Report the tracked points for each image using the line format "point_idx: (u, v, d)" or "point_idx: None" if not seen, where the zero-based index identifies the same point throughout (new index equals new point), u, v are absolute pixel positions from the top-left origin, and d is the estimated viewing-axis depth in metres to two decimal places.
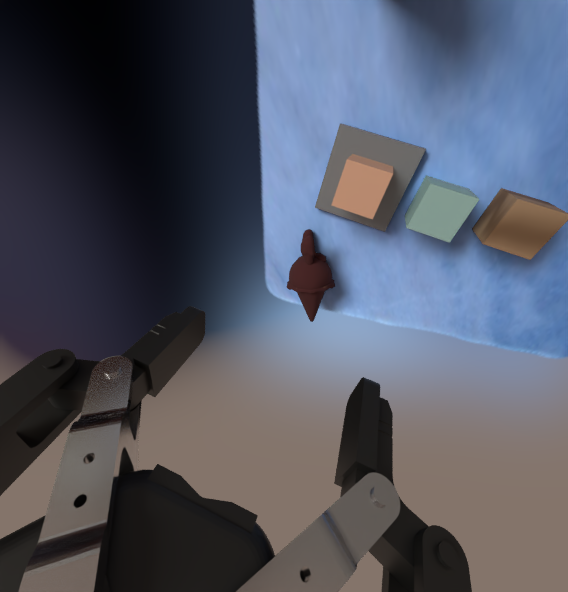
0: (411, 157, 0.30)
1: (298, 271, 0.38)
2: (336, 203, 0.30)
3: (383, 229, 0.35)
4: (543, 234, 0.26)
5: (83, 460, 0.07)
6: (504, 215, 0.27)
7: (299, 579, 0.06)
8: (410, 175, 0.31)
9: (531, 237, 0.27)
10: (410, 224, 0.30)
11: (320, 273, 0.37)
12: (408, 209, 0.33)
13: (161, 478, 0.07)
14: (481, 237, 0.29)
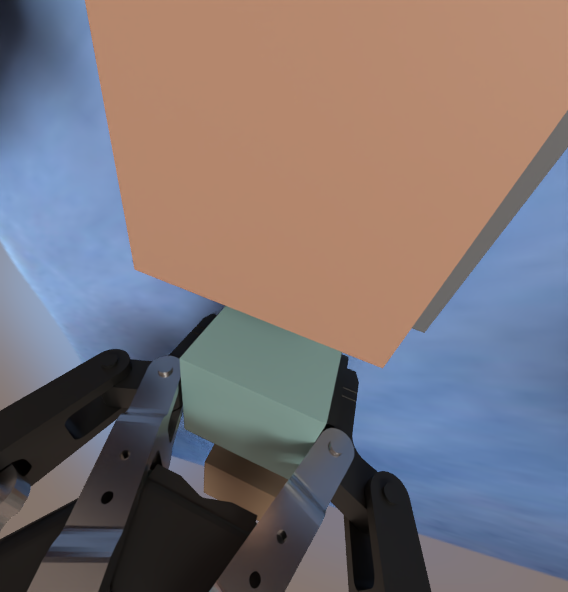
0: None
1: None
2: None
3: None
4: None
5: (120, 455, 0.07)
6: (263, 489, 0.13)
7: (277, 542, 0.06)
8: None
9: (235, 501, 0.15)
10: (193, 368, 0.08)
11: None
12: None
13: (161, 478, 0.07)
14: None
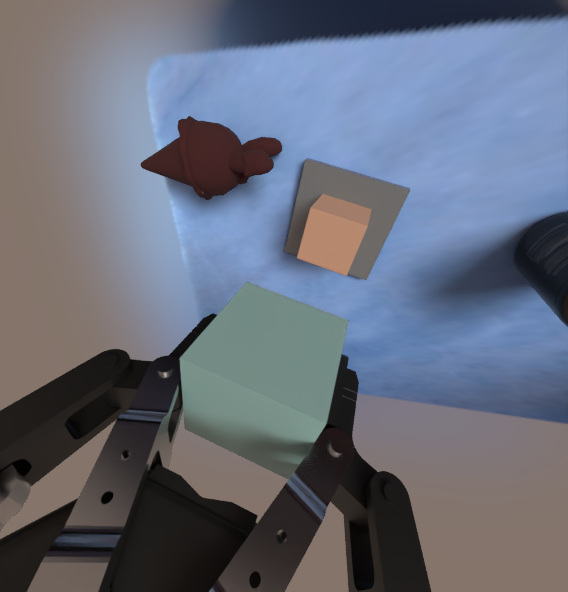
0: (360, 269, 0.29)
1: (213, 146, 0.23)
2: (313, 214, 0.22)
3: (286, 249, 0.31)
4: None
5: (120, 455, 0.07)
6: None
7: (278, 542, 0.06)
8: None
9: None
10: (193, 368, 0.08)
11: (220, 185, 0.25)
12: (260, 294, 0.12)
13: (161, 478, 0.07)
14: None
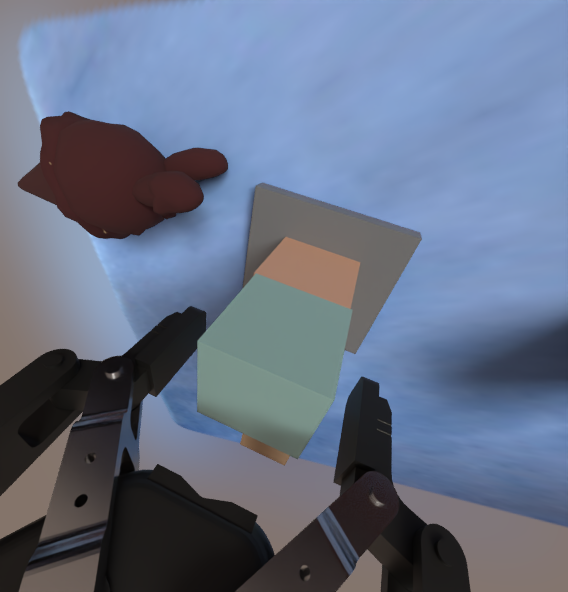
0: None
1: (100, 164, 0.13)
2: None
3: None
4: (265, 452, 0.26)
5: (84, 460, 0.07)
6: None
7: (299, 578, 0.06)
8: None
9: (260, 447, 0.26)
10: (210, 350, 0.09)
11: (126, 224, 0.15)
12: (269, 285, 0.12)
13: (161, 478, 0.07)
14: None
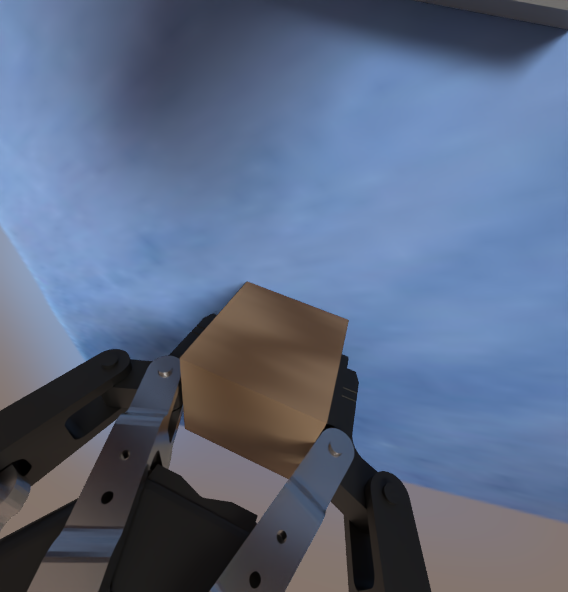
0: None
1: None
2: None
3: None
4: (242, 448, 0.11)
5: (120, 455, 0.07)
6: (272, 396, 0.08)
7: (278, 543, 0.06)
8: None
9: (229, 434, 0.10)
10: None
11: None
12: None
13: (161, 478, 0.07)
14: (207, 338, 0.09)
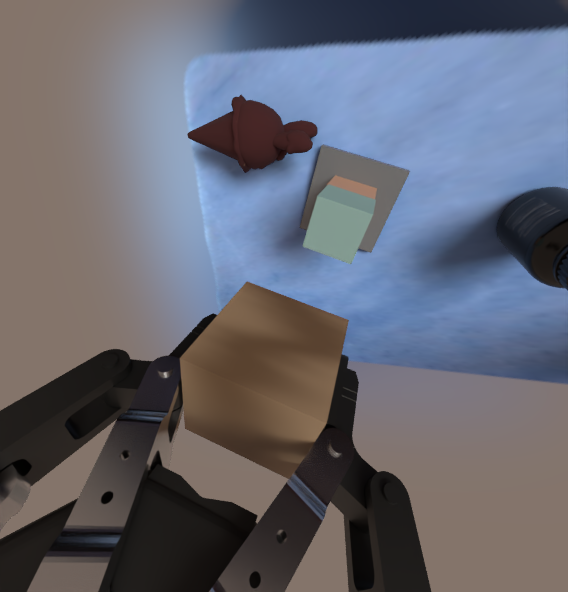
0: (365, 242, 0.33)
1: (261, 124, 0.26)
2: None
3: (301, 226, 0.35)
4: (242, 448, 0.11)
5: (120, 455, 0.07)
6: (272, 396, 0.08)
7: (278, 543, 0.06)
8: None
9: (229, 434, 0.10)
10: (322, 200, 0.23)
11: (262, 159, 0.28)
12: (336, 188, 0.26)
13: (161, 478, 0.07)
14: (207, 338, 0.09)
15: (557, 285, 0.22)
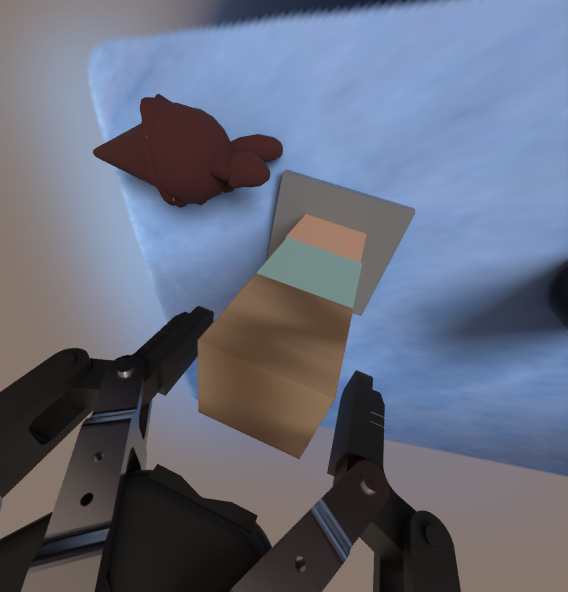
0: None
1: (188, 141, 0.16)
2: None
3: None
4: (254, 428, 0.11)
5: (92, 459, 0.07)
6: (284, 374, 0.09)
7: (295, 569, 0.06)
8: None
9: (242, 415, 0.11)
10: None
11: (197, 193, 0.18)
12: (298, 244, 0.16)
13: (161, 478, 0.07)
14: (222, 323, 0.10)
15: None
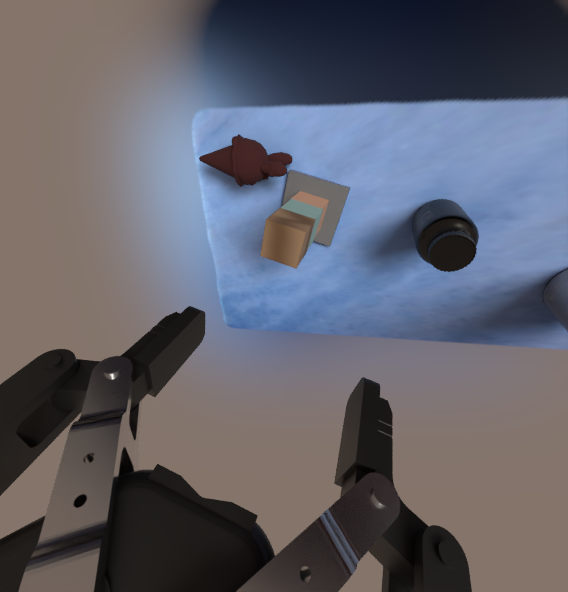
0: (325, 239, 0.46)
1: (252, 156, 0.38)
2: None
3: None
4: (280, 257, 0.33)
5: (83, 460, 0.07)
6: (291, 227, 0.30)
7: (300, 579, 0.06)
8: (314, 240, 0.46)
9: (277, 251, 0.33)
10: None
11: (252, 179, 0.40)
12: (296, 201, 0.38)
13: (161, 478, 0.07)
14: (272, 217, 0.32)
15: None
